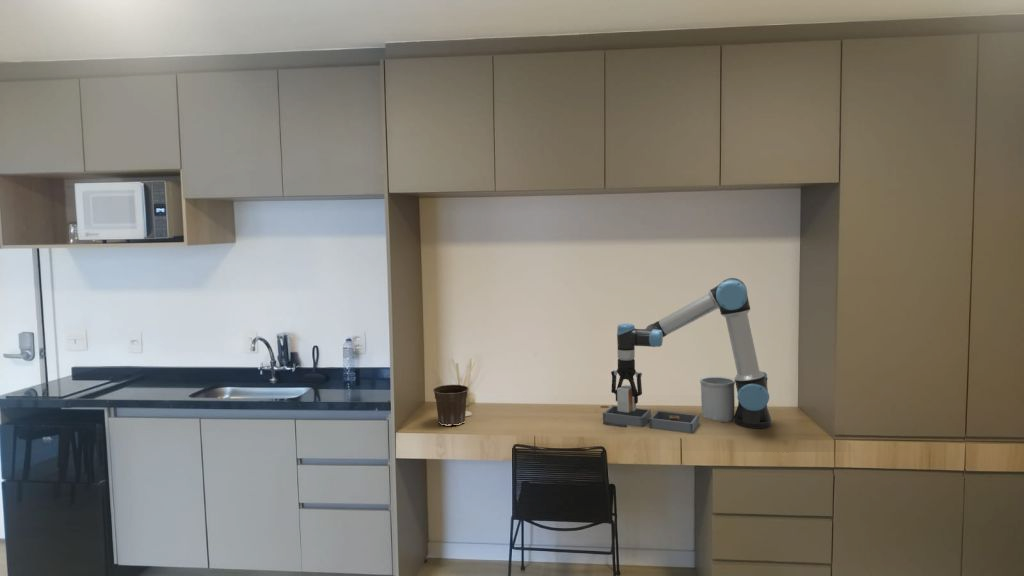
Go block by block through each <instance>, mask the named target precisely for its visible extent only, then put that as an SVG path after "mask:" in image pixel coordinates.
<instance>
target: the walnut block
mask: <svg viewBox="0 0 1024 576" xmlns="http://www.w3.org/2000/svg"><path fill="white" fill-rule="evenodd" d="M669 418H670V420H671V421H679V416H673V415H669Z"/></svg>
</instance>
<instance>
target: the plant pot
mask: <svg viewBox="0 0 1024 576" xmlns="http://www.w3.org/2000/svg"><path fill="white" fill-rule="evenodd" d="M468 391H469V386H466V385H463V384H446V385H445V384H444V385H439V386H437V387H435V388H433V389H432V392H433V393H434V399H435V403H436V411H437V421H439V422H440V423H441V424H447V425H448V424H459V423H462V422H464V421H465V422H466V411H467V409H466V408H467V398H468V393H469V392H468ZM439 422H438V423H439Z"/></svg>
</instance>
